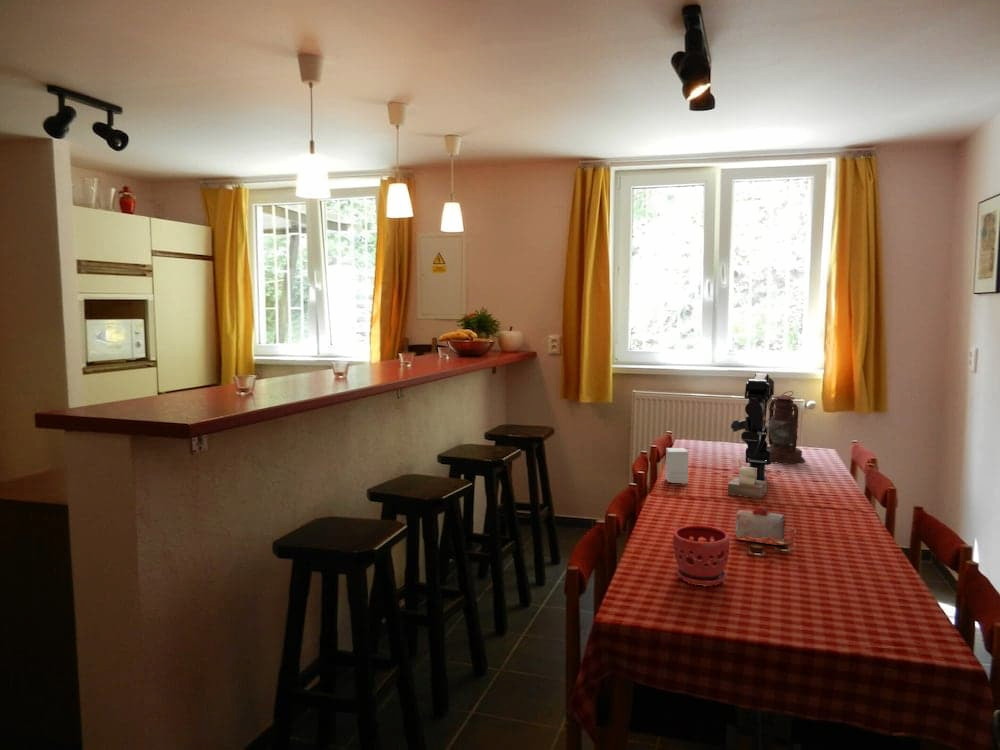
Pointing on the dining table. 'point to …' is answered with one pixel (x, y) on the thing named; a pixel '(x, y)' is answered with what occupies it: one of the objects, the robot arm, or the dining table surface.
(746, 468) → the birch cube
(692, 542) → the plant pot
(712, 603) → the dining table surface
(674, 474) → the supplement box
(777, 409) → the lantern
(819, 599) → the dining table surface
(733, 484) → the beige flat block
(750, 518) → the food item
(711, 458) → the dining table surface
